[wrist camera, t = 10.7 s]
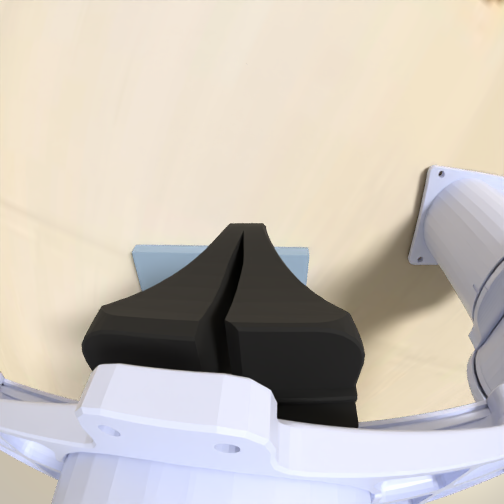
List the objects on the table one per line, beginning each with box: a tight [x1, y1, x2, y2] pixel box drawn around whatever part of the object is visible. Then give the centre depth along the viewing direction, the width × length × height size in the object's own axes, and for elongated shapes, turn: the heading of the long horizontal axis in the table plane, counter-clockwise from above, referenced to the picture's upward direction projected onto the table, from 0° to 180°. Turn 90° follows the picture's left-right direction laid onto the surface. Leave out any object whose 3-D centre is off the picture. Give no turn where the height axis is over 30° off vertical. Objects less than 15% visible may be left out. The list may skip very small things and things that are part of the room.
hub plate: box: [132, 245, 309, 291], centre depth 26 cm, size 13×16×4 cm
